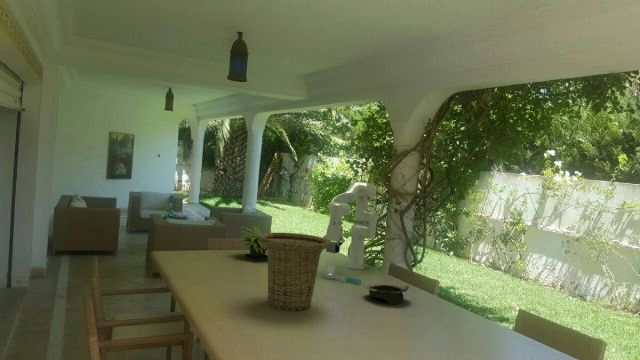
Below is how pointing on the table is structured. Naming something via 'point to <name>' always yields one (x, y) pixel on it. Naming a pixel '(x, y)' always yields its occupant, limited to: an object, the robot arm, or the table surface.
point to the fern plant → (255, 247)
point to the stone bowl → (387, 292)
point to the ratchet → (332, 275)
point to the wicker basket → (292, 268)
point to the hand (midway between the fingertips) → (332, 250)
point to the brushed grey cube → (332, 247)
